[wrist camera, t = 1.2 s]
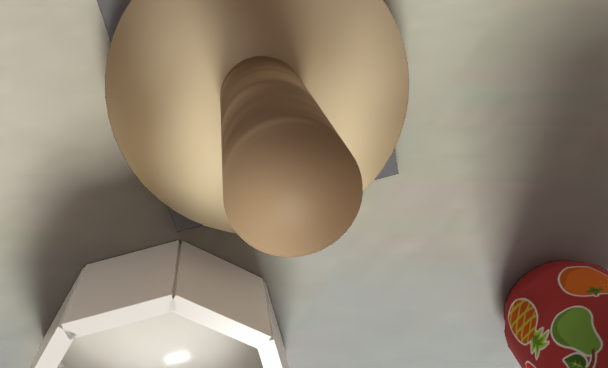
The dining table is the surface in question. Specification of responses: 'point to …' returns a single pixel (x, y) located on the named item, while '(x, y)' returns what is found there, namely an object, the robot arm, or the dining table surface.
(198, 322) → the bowl
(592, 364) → the smoothie
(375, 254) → the dining table surface
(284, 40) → the wooden peg stand
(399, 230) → the dining table surface
